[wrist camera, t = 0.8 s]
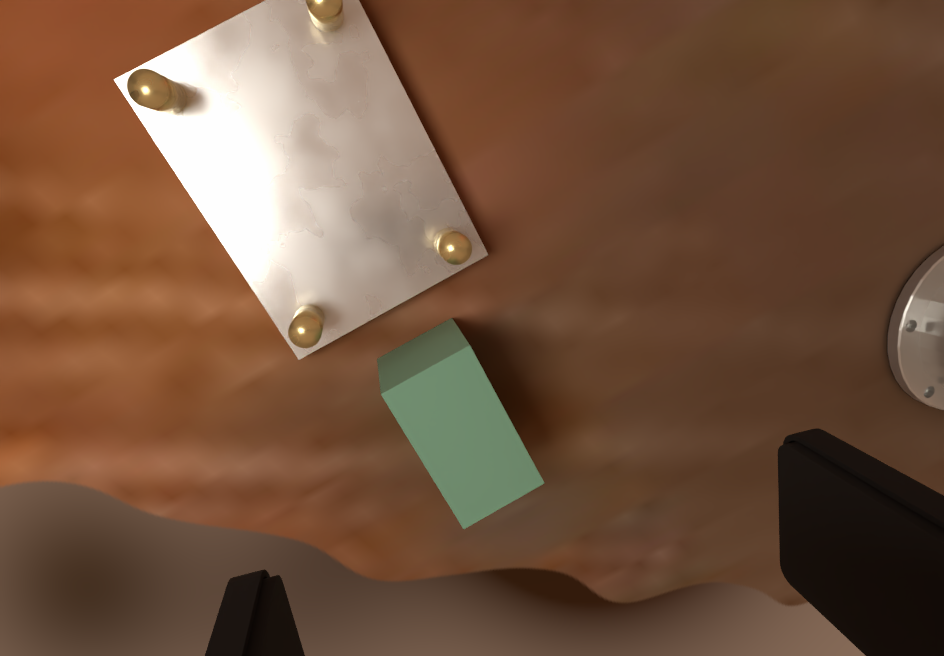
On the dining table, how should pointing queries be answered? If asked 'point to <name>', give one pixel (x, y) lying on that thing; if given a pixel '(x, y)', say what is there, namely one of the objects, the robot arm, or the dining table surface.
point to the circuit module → (456, 423)
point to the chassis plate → (307, 164)
